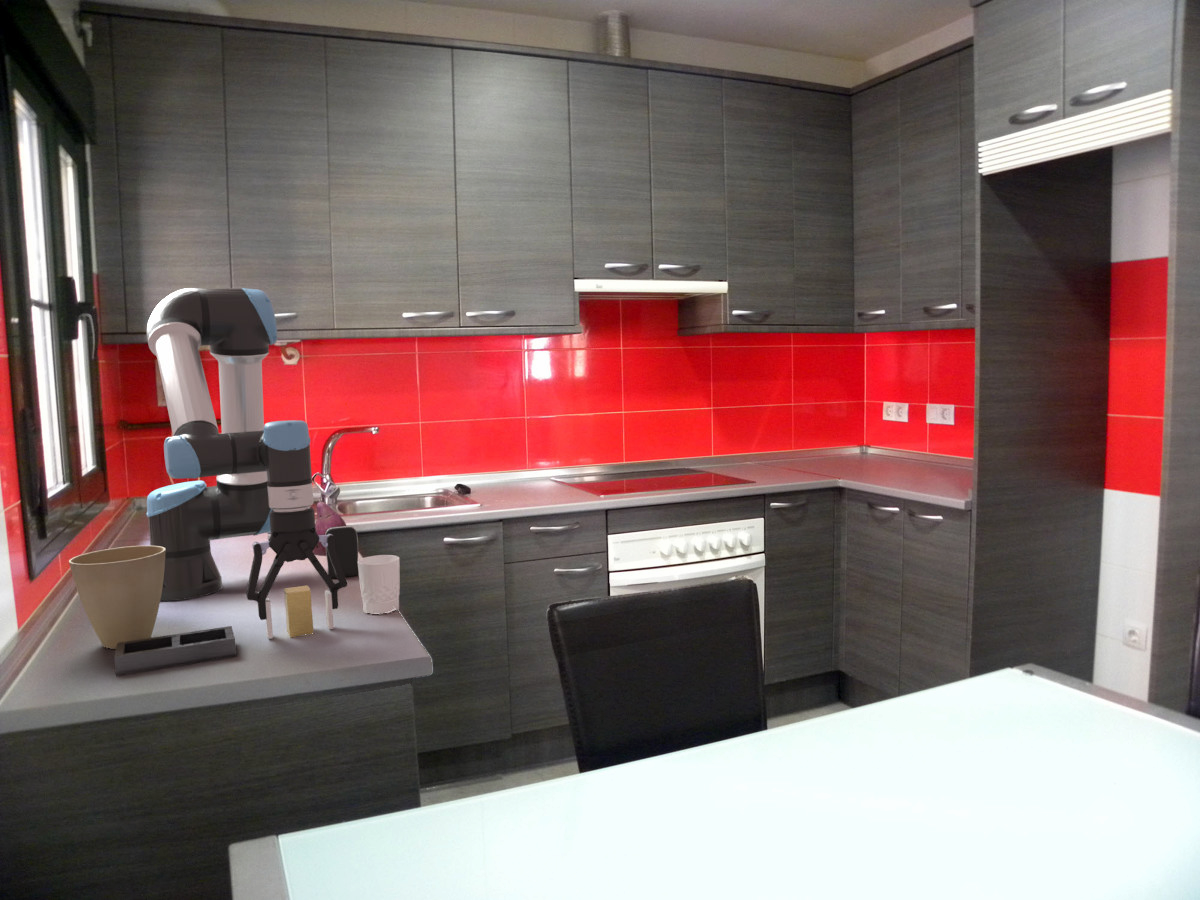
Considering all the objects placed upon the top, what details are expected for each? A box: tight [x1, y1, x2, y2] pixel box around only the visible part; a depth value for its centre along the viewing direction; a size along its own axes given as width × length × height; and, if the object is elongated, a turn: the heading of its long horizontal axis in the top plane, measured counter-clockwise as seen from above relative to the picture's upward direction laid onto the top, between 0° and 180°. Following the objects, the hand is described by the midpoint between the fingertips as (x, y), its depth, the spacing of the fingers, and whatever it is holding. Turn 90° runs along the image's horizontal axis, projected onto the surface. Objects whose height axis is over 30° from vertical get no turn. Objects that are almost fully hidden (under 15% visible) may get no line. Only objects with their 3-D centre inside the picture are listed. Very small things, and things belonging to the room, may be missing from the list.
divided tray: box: [114, 625, 237, 677], centre depth 148 cm, size 8×18×3 cm, turn 116°
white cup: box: [357, 554, 401, 615], centre depth 173 cm, size 8×8×10 cm
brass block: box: [283, 585, 314, 638], centre depth 160 cm, size 4×4×8 cm
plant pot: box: [68, 545, 166, 650], centre depth 157 cm, size 15×15×16 cm
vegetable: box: [312, 499, 348, 556], centre depth 229 cm, size 10×10×15 cm
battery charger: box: [325, 525, 359, 579], centre depth 202 cm, size 7×4×11 cm, turn 109°
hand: (300, 631), depth 160 cm, fingers open, 10 cm apart
